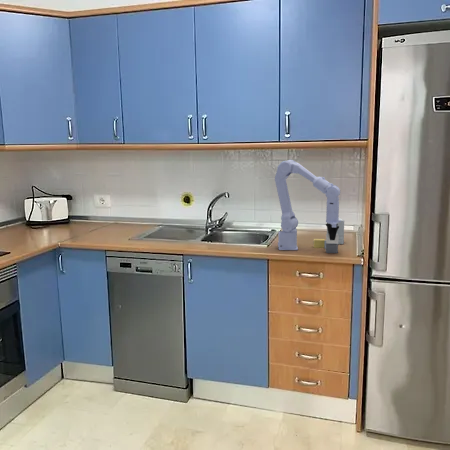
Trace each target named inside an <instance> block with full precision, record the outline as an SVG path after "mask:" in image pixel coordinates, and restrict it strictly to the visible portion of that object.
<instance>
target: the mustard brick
mask: <svg viewBox="0 0 450 450" xmlns="http://www.w3.org/2000/svg"><path fill="white" fill-rule="evenodd" d="M325 240H326V238H313V242H312V243H313V244H312V245H313V246H312V247H313V248H314V249H325V248H324V244H325Z"/></svg>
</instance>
